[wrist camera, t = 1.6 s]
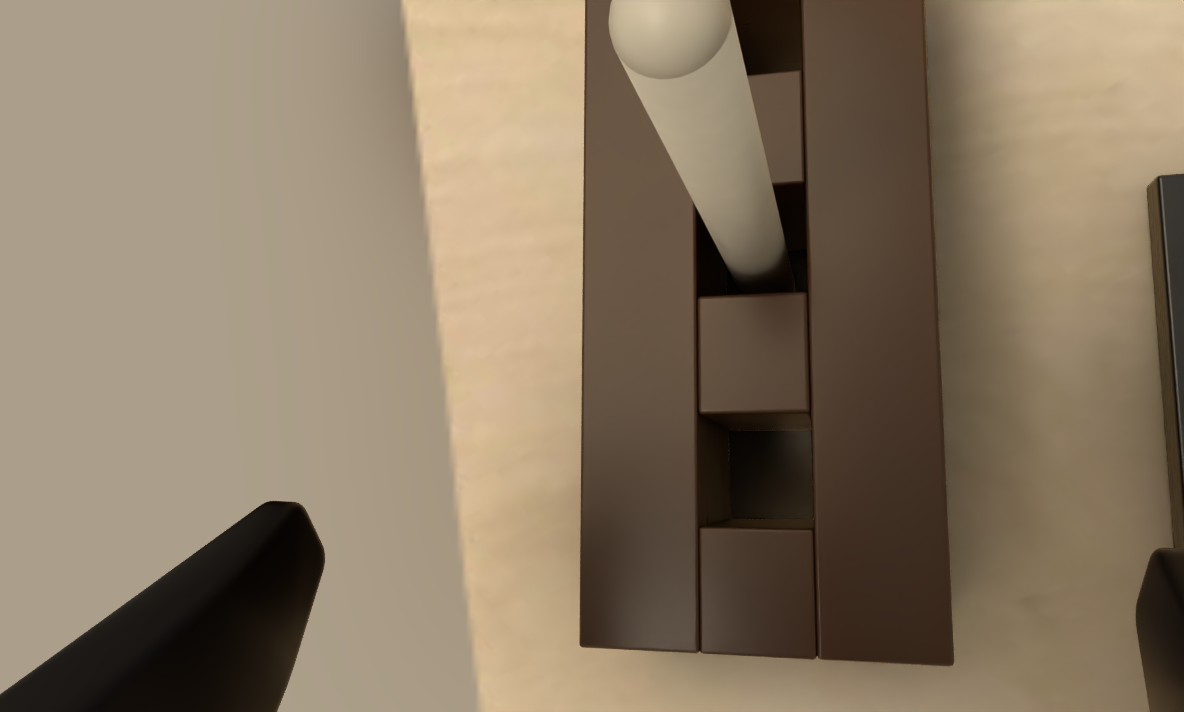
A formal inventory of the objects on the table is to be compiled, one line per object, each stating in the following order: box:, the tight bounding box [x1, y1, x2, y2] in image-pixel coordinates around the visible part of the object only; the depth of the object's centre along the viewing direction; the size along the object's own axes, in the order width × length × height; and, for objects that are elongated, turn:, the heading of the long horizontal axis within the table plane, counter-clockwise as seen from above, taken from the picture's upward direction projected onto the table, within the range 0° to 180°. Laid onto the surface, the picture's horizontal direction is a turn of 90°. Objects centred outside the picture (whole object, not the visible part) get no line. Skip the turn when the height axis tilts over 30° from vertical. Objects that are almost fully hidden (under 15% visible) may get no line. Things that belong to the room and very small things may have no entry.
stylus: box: [608, 0, 795, 294], centre depth 15 cm, size 1×1×14 cm
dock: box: [580, 0, 954, 666], centre depth 20 cm, size 6×15×5 cm, turn 0°
